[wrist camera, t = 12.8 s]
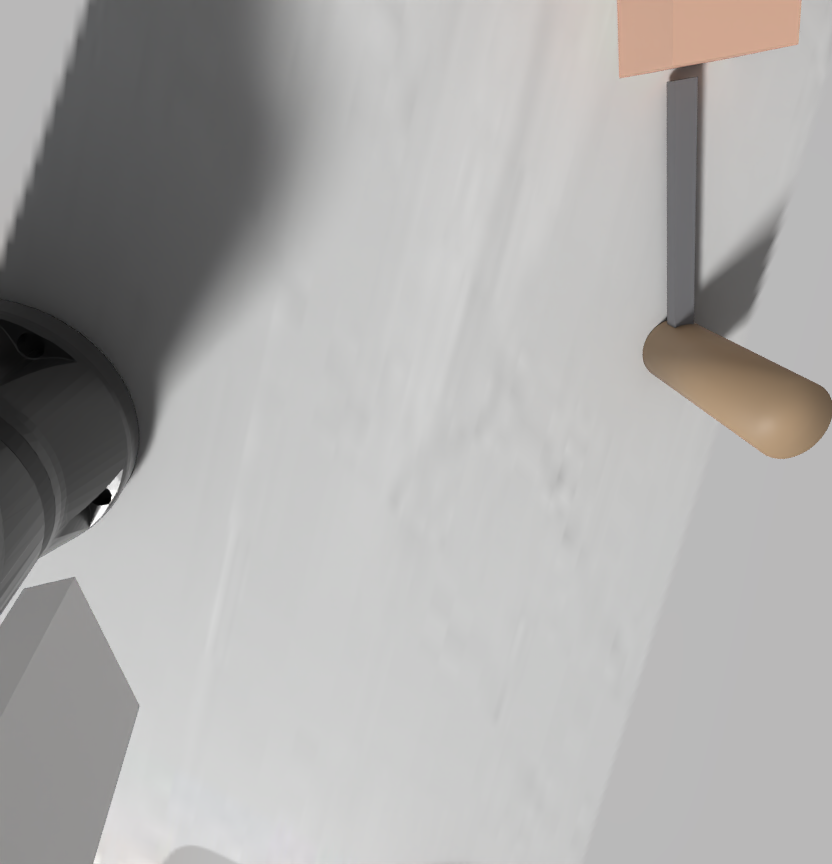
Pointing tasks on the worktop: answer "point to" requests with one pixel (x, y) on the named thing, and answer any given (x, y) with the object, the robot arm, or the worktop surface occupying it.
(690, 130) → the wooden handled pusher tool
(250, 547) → the worktop surface
